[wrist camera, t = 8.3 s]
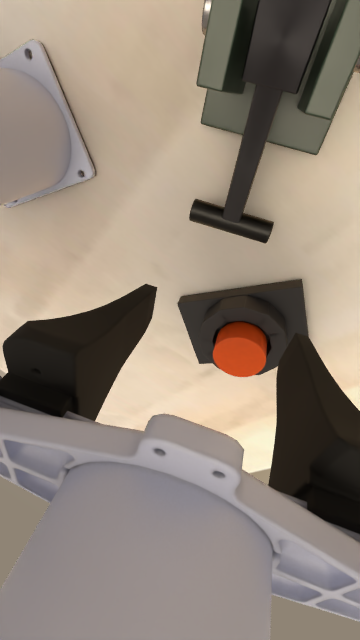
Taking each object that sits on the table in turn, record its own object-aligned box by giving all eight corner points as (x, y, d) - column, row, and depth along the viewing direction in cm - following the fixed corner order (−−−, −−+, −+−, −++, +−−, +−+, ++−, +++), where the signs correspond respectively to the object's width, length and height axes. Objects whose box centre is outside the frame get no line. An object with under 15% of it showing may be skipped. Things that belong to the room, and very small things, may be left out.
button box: (201, 355, 30) (195, 377, 28) (180, 296, 27) (170, 315, 24) (309, 349, 26) (312, 374, 24) (301, 278, 23) (304, 299, 20)
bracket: (315, 152, 18) (333, 182, 11) (204, 122, 19) (161, 135, 12) (404, -53, 13) (524, -203, 6) (247, -85, 14) (215, -251, 7)
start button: (223, 360, 26) (219, 377, 24) (211, 323, 24) (206, 339, 22) (270, 358, 24) (269, 376, 23) (262, 318, 23) (261, 335, 21)
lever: (269, 227, 19) (262, 254, 18) (196, 206, 20) (185, 230, 19) (384, -25, 10) (384, -2, 9) (237, -56, 10) (219, -39, 9)
